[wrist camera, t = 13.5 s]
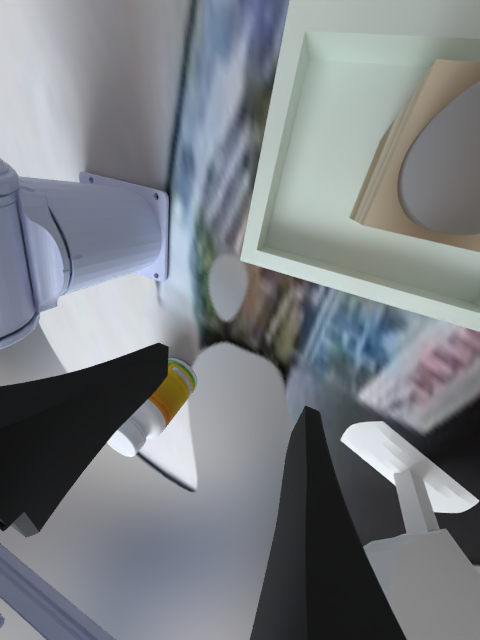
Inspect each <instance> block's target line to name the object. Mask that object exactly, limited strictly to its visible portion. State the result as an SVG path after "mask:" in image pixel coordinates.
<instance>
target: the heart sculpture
mask: <svg viewBox="0 0 480 640" xmlns="http://www.w3.org/2000/svg"><path fill="white" fill-rule="evenodd" d="M341 441H342V442H343V443H344V444H346V445H347V446H348V447H349V448H351V449H352V450H353V451H354V452H355V453H357V454H358V455H359V456H360V457H361V458H363V459H364V460H365V461H366V462H368V463H369V464H370V465H371V466H372V467H374V468H375V469H376V470H377V471H378V472H380V473H381V474H382V475H383V476H385V477H386V478H387V479H388V480H389V481H391V482H392V483H393V484H394V485H396V488H397V493H398V497H399V501H400V506H401V510H402V515H403V519H404V524H405V528H406V532H407V534H402V535H399V536H397V537H394V538H389V539H383V540H377V541H372V542H370V543H369V544H367V545H365V546H364V547H363V548H364V550H365V553H366V555H367V557H368V560H369V562H370V564H371V566H372V568H373V570H374V572H375V575H376V577H377V579H378V581H379V583H380V585H381V587H382V590H383V592H384V594H385V596H386V598H387V600H388V602H389V605H390V607H391V609H392V611H393V613H394V615H395V617H396V619H397V621H398V623H399V625H400V627H401V629H402V631H403V633H404V635H405V637H406V639H407V640H480V575H479V573H478V572H477V570H476V569H475V568H474V566H473V565H472V564H471V562H470V561H469V560H468V558H467V557H466V556H465V555H464V553H463V552H462V550H461V549H460V548H459V546H458V545H457V543H456V542H455V541H454V539H453V538H452V536H451V535H450V534H449V532H448V531H447V530H446V529H439V526H438V523H437V520H436V517H435V514H434V512H443V513H460V512H463V511H466V510H468V509H470V508H471V507H473V506H474V505H475V504H477V503H478V502H479V500H478V499H477V498H475V497H474V496H473V495H472V494H471V493H469V492H468V491H467V490H466V489H464V488H463V487H462V486H461V485H460V484H458V483H457V482H456V481H455V480H453V479H452V478H451V477H450V476H449V475H447V474H446V473H445V472H444V471H443V470H441V469H440V468H439V467H438V466H436V465H435V464H434V463H433V462H432V461H430V460H429V459H428V458H427V457H425V456H424V455H423V454H422V453H421V452H419V451H418V450H417V449H416V448H414V447H413V446H412V445H411V444H410V443H408V442H407V441H406V440H405V439H404V438H402V437H401V436H400V435H399V434H397V433H396V432H395V431H394V430H393V429H391V428H390V427H389V426H388V425H386V424H385V423H384V422H383V421H376V422H362V423H357V424H353V425H351V426H350V427H349V428H348V429H347V430H346V431H345V433H344V434H343V436H342V438H341Z"/></svg>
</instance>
